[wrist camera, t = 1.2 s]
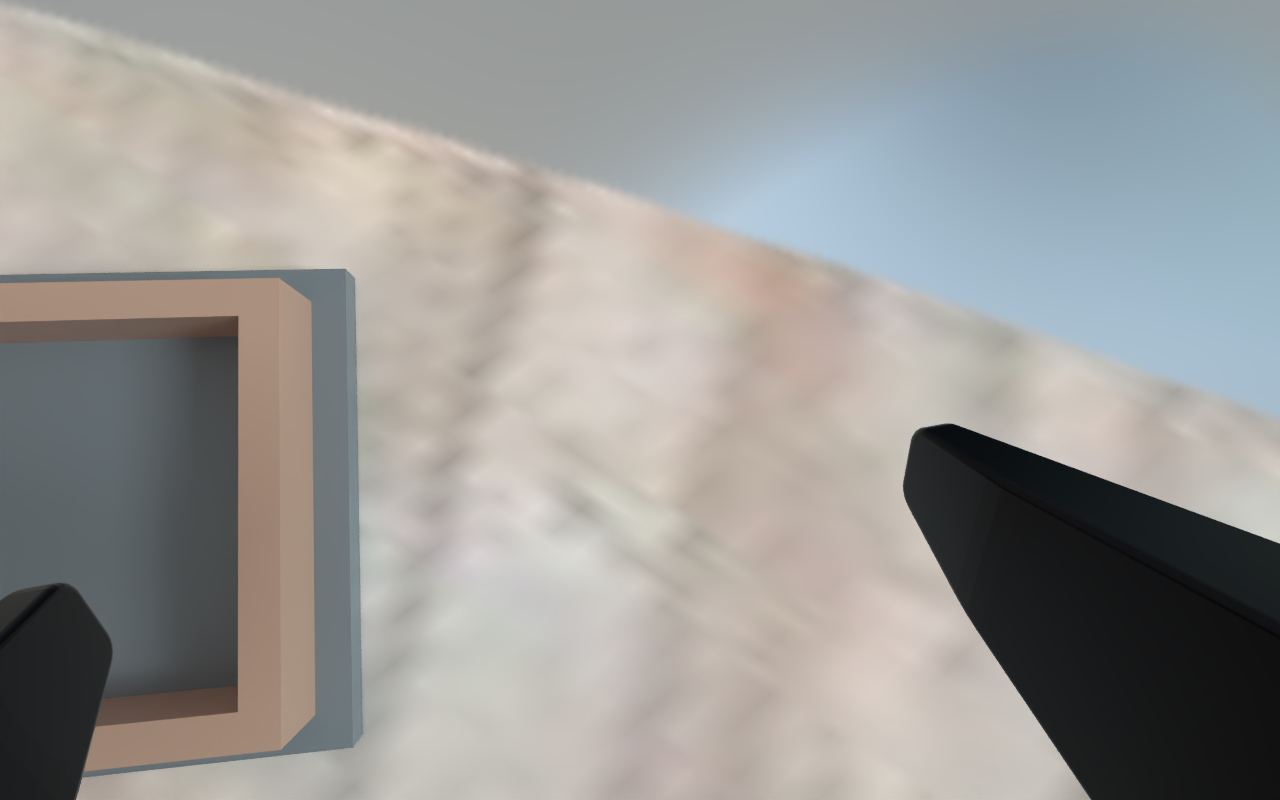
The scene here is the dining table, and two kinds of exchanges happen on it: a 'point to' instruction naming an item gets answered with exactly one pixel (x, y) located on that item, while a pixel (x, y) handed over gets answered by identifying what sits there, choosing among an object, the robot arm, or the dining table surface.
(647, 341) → the dining table surface
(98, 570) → the dock
